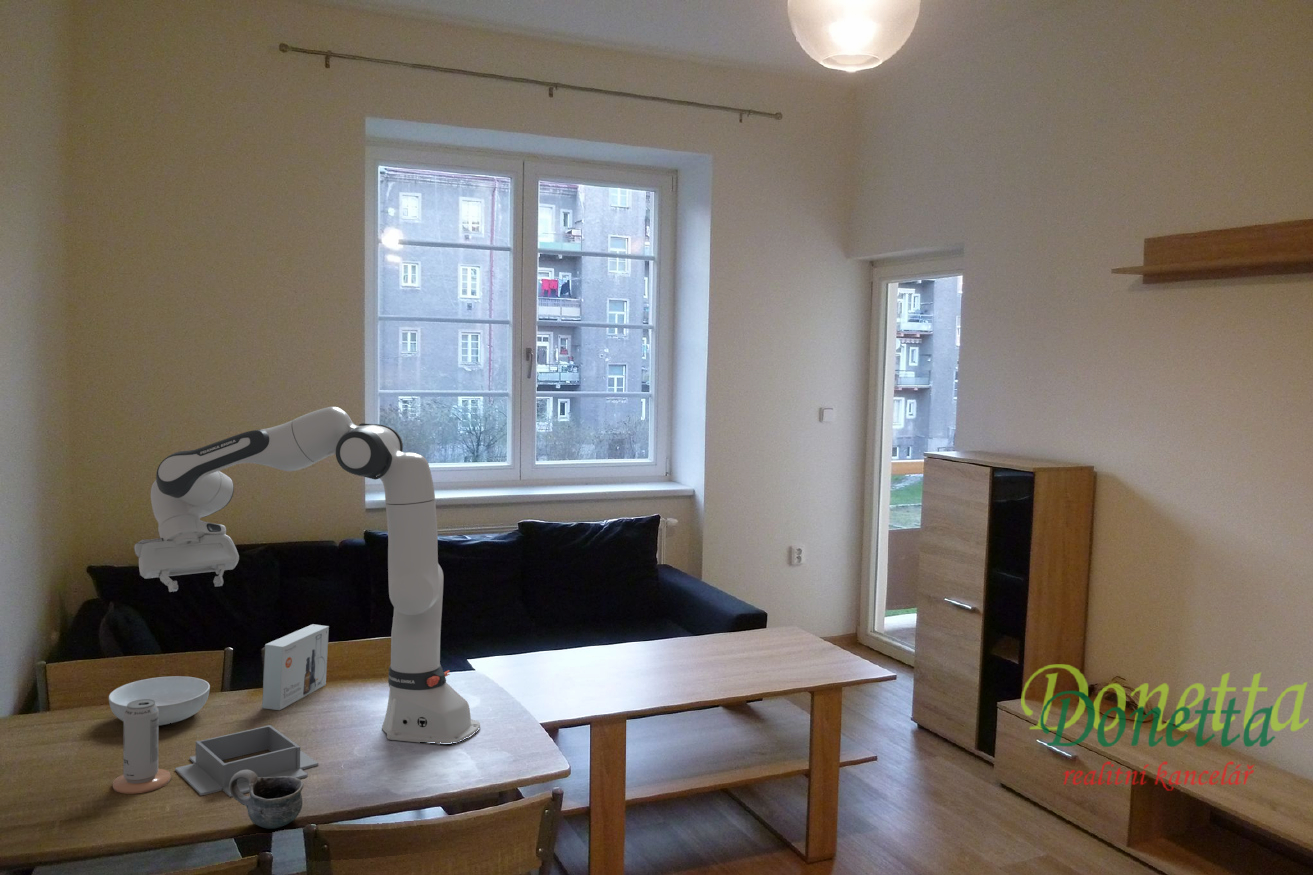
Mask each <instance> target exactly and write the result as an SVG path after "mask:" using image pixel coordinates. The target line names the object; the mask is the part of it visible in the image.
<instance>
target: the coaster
mask: <svg viewBox="0 0 1313 875" xmlns="http://www.w3.org/2000/svg"><path fill="white" fill-rule="evenodd" d="M171 778H172V776H171V772H170V771H169V770H166V769H163V768H158V773H157V774H156V775H155V778H154V779H152V780H150V781H148V782H144V783H137V784H134V783H129V782H127V779H125V778H124V776H123V774H121V775H119V776H117V777H116V778H115V779H114V780H113V782H112V789H113V790H114V791H115V792H117V793H119V794H128V795H134V794H136V795H137V794H144V793H148V792H152V791H155V790H158V789H161V788H163V787H165V786H167V785H168V784H169V783H170V781H171Z"/></svg>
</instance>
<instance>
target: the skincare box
mask: <svg viewBox="0 0 1313 875" xmlns="http://www.w3.org/2000/svg"><path fill="white" fill-rule="evenodd" d="M329 628H330V626H329V625H321V624H314V623H312V624H310V625H308V626H305V627H303V628H301V629H297V630H295V631H293V632H291V633H288V634H286V635H284V636H282V637H280V638H276V639H275V640H272V641H270V642H268V643H265V645H264V665H263V677H262V678H263V680H262V684H263V685H262V701H261V708H262V709H267V710H275V711H282V710H283V709H285V708H286V707H289V706H291V705H292V704H294V703H295V702H298V701H299V700H301V699H303V698H305V697H306V696H308V695H310V694H312V693H314V692H315V691H317V690H319V689H320V688H323V687H325V686H327V666H328V647H329V630H330V629H329Z"/></svg>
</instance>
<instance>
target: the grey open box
mask: <svg viewBox="0 0 1313 875" xmlns="http://www.w3.org/2000/svg"><path fill="white" fill-rule="evenodd" d="M266 750H268V751H269V752H266V753H262V754H258V755H253V756H250V757H246V758H241V759H238V760H232V761H229V762H224V761H225V760H229V759H233V758H237V757H241V756H245V755H250V754H254V753H259V752H262V751H266ZM188 759H189V760H190V761H191V762H192V763H191V764H186V765H182V766H177V767H175V768H174V771H175V772H176V773H177V774H178V775H179V776H180V777H181V778H182V779H184V781H185V782H186V783H188V785H189V786H190V787H191V788H192V789H193V790H194V791H196V792H197V793H198V794H199V795H200V796H205V795H209V794H214V793H217V792H220V791H222V792H224V793H225V794H226V795H227V796H228V797H229V798H232V797H233V796H232V795H231V792H230V789H229V783H230V780H231V778H232V777H233V776H234V775H235V774H236V773H237V772H239V771H241V770H251V771H253V772H254V773H255V774H256V775H257V777H273V778H275V777H279V776H289V777H294V778H297V779H300V780H302V779H304V778H307V777H308V775H309V774H308V773H307V772H306V771H305V769H309V768H313V767H317V766H318V767H319V762H318V761H316V760H315V759H313V758H312V757H311V756H309V755H308V754H307V753H305V752H304V751H302V749H301V746H300V745H298V743H296V742H294V741H293V740H292V739H290V738H289V737H287V736H286V735H285V734H283V733H282V732H280V731H279V730H278V729H276V728H275V727H274V726H273V725H271V724H267V725H264V726H261V727H256V728H253V729H248V730H247V729H246V730H242V731H238V732H233V733H229V734H225V735H219V736H216V737H210V738H205V739H202V740H195V755H191V756H189V758H188ZM237 786H238V788H239V790H240V791H241V792H242V793H243V794H244V795H245V794H247V793H250V788H249V783H248V780H246V779H244V778H239V779H237ZM233 798H234V797H233Z"/></svg>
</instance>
